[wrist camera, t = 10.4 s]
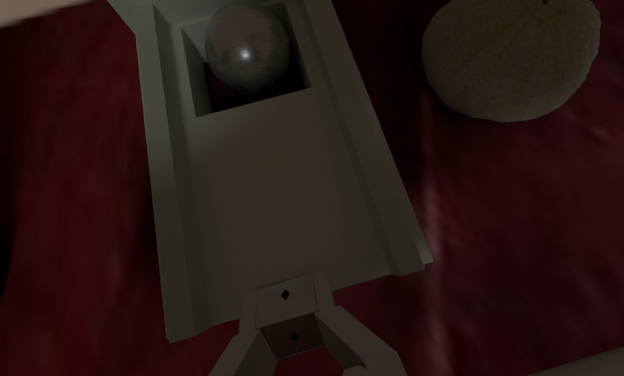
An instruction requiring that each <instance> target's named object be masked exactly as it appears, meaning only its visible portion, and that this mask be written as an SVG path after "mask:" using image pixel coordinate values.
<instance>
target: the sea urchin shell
mask: <svg viewBox="0 0 624 376" xmlns="http://www.w3.org/2000/svg"><path fill="white" fill-rule="evenodd" d="M594 6H595V5H593V3H592V2H591V1H590V0H451V1H450V2H449V3H448V4H446V5H444V7H443V8H441V9H439V11H438V12H436V13H435V16H433V17H432V20H431V21H430V23H429V24H428V26H427V28H426V30H425V32H424V35H423V38H422V55H421V57H420V58H421V59H422V63H423V67H424V70H425V74H426V76H427V79H428V83H429V85H430V86H431V87H432V88H433V89H434V91H435V92H436V94H437V96H438V97H439V99H440V100H441V101H442V102H443V103H444V104H445V105H446V106H448V107H449V108H450V110H454V111H457V112H460V113H462V114H465V115H468V116H471V117H472V118H481V119H489V120H494V121H496V122H498V121H499V122H501V123H503V122H507V123H508V122H514V121H524V120H531V119H535V118H538V117H540V116H542V115H545V114H548V113H550V112H551V111H553V110H554V109H556V108H559V107H560V106H561V105H562V104H564V103H565V102H566V101H567V100H568V99H569V98H570V96H571V95H572V94H573V93H574V92H575V91H576V90H577V88H579V87H580V85H581V83H582V82H583V81H585V80H586V75H587V74H588V73H589V69H590V66H591V64H592V61H593V60H594V58H595V55H596V54H597V53H598V51H597V49H598V47H599V32H600V26H601V21H600V17H599V12H598V11H597V10H596V8H595V7H594Z"/></svg>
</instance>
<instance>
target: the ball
mask: <svg viewBox="0 0 624 376" xmlns="http://www.w3.org/2000/svg"><path fill="white" fill-rule="evenodd" d="M204 44H205V53H206V57H207V61H208V63H209V66H210V68H211V69H212V71H213V73H214V74H215V76H216V77H217V78H218V79H219V80H220V82H221V83H223V84H224V85H225V86H226V87H228V88H229V89H231V90H232V91H234V92H237V93H239V94H243V95H248V96H257V95H262V94H266V93H268V92H270V91H272V90H273V89H275V88H276V87H277V86H278V85H279V84H280V83H281V82H282V80H283V79H284V77H285V75H286V74H287V71H288V68H289V65H290V59H291V49H290V42H289V38H288V35H287V33H286V30H285V28H284V27H283V25H282V23H281V22H280V20H279V19H278V18H277V17H276V16H275V14H273V13H272V12H271V11H270V10H269V9H267V8H266V7H264V6H262V5H260V4H258V3H255V2H251V1H242V0H241V1H234V2H231V3H228V4H226V5H224V6H223V7H221V8H220V9H219V10H217V11H216V13H215V14H214V15H213V16H212V18H211V19H210V21H209V23H208V26H207V29H206V32H205V40H204Z"/></svg>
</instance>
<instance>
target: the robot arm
mask: <svg viewBox="0 0 624 376" xmlns="http://www.w3.org/2000/svg"><path fill="white" fill-rule="evenodd" d="M323 346H326V348H327V349H328V350H329V351H330V352H331V353H332V355H333V356H334V357H335V358H336V359H337V360H338V362H339V363H340V364H341V365H342V366H343V367H344V368H345V370H344V373H343V375H342V376H407V374H406V372H405V369H404V367H403V365H402V363H401V360H400V358H399V356H398V353H397V352H396V351H394V350H393V349H392V348H391V347H390V346H388V345H387V344H386V343H385V342H383V341H382V340H381V339H380V338H379V337H377V336H376V335H375V334H374V333H373V332H371V331H370V330H369V329H368V328H367V327H365V326H364V325H363V324H362V323H360V322H359V321H358V320H357V319H356V318H354V317H353V316H352V315H351V314H350V313H348V312H347V311H346V310H345V309H343V308H342V307H341V306H335V303H334V299H333V295H332V292H331V288H330V284H329V281H328V277H327V273H326V270H325V268H322V269H319V270H315V271H312V272H308V273H305V274H301V275H298V276H294V277H291V278H288V279H285V280H282V281H278V282H274V283H270V284H266V285H262V286H258V287H255V288H251V289H247V290H244V292H243V295H242V305H241V315H240V325H239V335H236V336H234V337H233V339H232V340H231V342H230V343H229V345H228V346H227V348H226V349H225V351H224V352H223V354H222V356H221V357H220V359H219V360H218V362H217V363H216V365H215V366H214V368H213V369H212V371H211V372H210V374H209V375H208V376H272V374H273V372H274V369H275V367H276V364H277V360H279V359H282V358H285V357H288V356H291V355H294V354H297V353H300V352H304V351H307V350H311V349H315V348H319V347H323ZM528 376H624V346H622V347H619V348H616V349H613V350H609V351H606V352H603V353H600V354H596V355H593V356H590V357H587V358H583V359H580V360H577V361H574V362H570V363H567V364H564V365H561V366H557V367H554V368H551V369H548V370H544V371H541V372H538V373H535V374H531V375H528Z"/></svg>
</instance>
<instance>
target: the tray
mask: <svg viewBox="0 0 624 376" xmlns="http://www.w3.org/2000/svg"><path fill="white" fill-rule="evenodd" d="M107 1H108V2H109V3H110V4H111V6H112V7H113V8H114V9H115V10H116V12H117V13H118V14H119V15H120V16H121V18H122V19H123V20H124V21H125V23H126V24H127V25H128V26H129V27H130V29H131V30H132V31H133V32H134V33H135V35H136V44H137V54H138V63H139V73H140V83H141V93H142V103H143V112H144V122H145V132H146V142H147V151H148V161H149V171H150V181H151V191H152V200H153V210H154V220H155V230H156V240H157V249H158V259H159V269H160V279H161V289H162V298H163V308H164V318H165V328H166V338H167V339H169V344H170V343H173V342H176V341H180V340H183V339H187V338H190V337H194V336H196V335H198V334H200V333H201V332H203V331H205V330H206V329H208V328H210V327H211V326H214V325H217V324H221V323H224V322H227V321H231V320H234V319H238V318H240V315H241V305H242V295H243V292H244V290H247V289H251V288H255V287H258V286H262V285H266V284H270V283H274V282H278V281H282V280H285V279H288V278H291V277H294V276H298V275H301V274H305V273H308V272H312V271H315V270H319V269H322V268H325V270H326V273H327V277H328V281H329V284H330V288H331V291H334V290H337V289H341V288H344V287H348V286H351V285H355V284H358V283H361V282H365V281H368V280H372V279H375V278H379V277H382V276H385V275H389V274H393V275H397V276H403V275H406V274H409V273H413V272H416V271H420V270H423V269H425V267H424V264H427V263H430V262H434V261H433V259H432V256H431V254H430V251H429V249H428V246H427V243H426V241H425V238H424V236H423V233H422V231H421V228H420V226H419V223H418V220H417V218H416V215H415V213H414V210H413V208H412V205H411V203H410V200H409V198H408V195H407V192H406V190H405V187H404V185H403V182H402V180H401V177H400V175H399V172H398V170H397V167H396V164H395V162H394V159H393V157H392V154H391V152H390V149H389V147H388V144H387V142H386V139H385V136H384V134H383V131H382V129H381V126H380V124H379V121H378V119H377V116H376V114H375V111H374V108H373V106H372V103H371V101H370V98H369V96H368V93H367V91H366V88H365V85H364V83H363V80H362V78H361V75H360V73H359V70H358V68H357V65H356V63H355V60H354V57H353V55H352V52H351V50H350V47H349V45H348V42H347V40H346V37H345V35H344V32H343V29H342V27H341V24H340V22H339V19H338V17H337V14H336V12H335V9H334V7H333V4H332V1H331V0H242V1H251V2H255V3H258V4H260V5H262V6H264V7H266V8H267V9H269V10H270V11H271V12H272V13H273V14H275V16H276V17H277V18H278V19H279V20H280V22H281V23H282V25H283V27H284V28H285V30H286V33H287V35H288V38H289V41H290V42H291V45H292V49H293V52H294V55H295V58H296V61H297V64H298V68H299V71H300V74H301V77H302V80H303V84H304V87H305V89H304V90H300V91H296V92H292V93H289V94H285V95H281V96H277V97H273V98H269V99H266V100H262V101H258V102H254V103H250V104H247V105H243V106H239V107H235V108H231V109H227V110H224V111H220V112H216V113H212V109H211V104H210V98H209V93H208V88H207V82H206V77H205V72H204V67H203V63H206V62H208V61H207V57H206V53H205V44H204V40H205V32H206V29H207V26H208V23H209V21H210V19H211V18H212V16H213V15H214V14H215V13H216V11H217V10H219V9H220V8H221V7H223V6H224V5H226V4H228V3H231V2H234V1H241V0H107Z"/></svg>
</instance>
